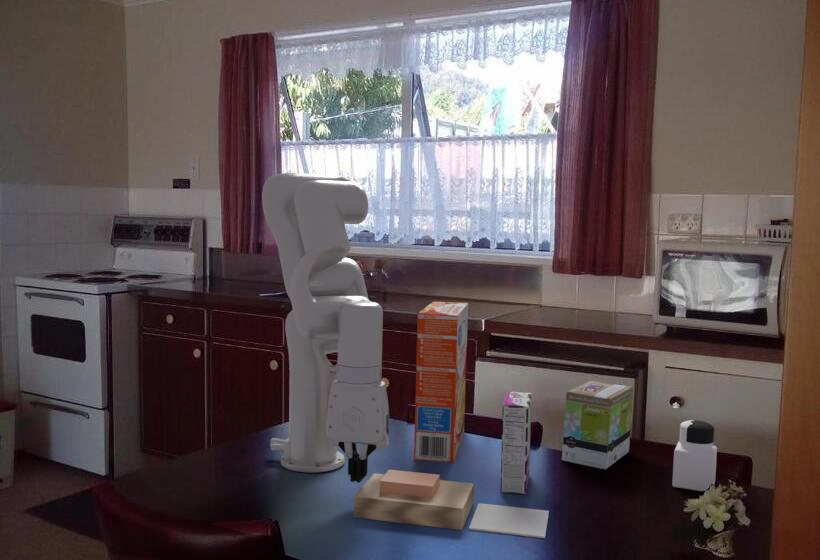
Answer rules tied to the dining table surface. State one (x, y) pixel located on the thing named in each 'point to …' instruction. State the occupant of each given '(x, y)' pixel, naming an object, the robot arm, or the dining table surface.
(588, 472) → the dining table surface
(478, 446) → the dining table surface
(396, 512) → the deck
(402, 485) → the block
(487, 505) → the mat
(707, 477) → the medicine bottle
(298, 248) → the robot arm
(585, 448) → the tea box
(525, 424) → the candy bar box
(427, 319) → the pasta box
